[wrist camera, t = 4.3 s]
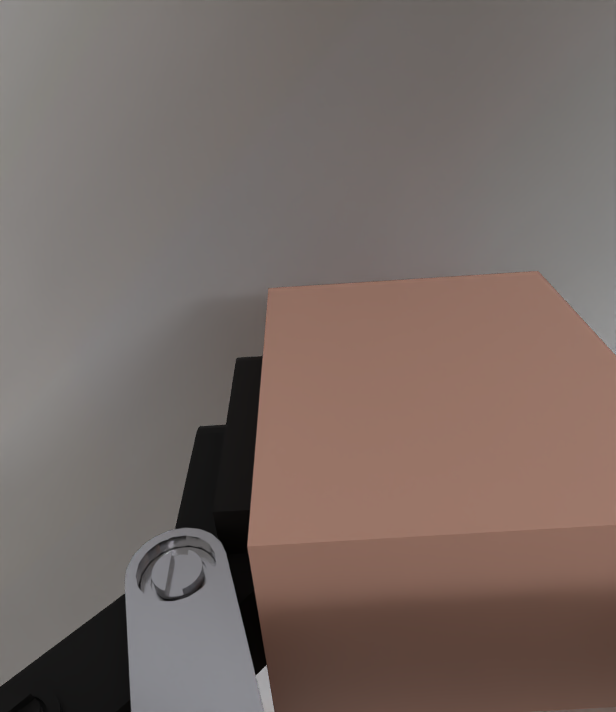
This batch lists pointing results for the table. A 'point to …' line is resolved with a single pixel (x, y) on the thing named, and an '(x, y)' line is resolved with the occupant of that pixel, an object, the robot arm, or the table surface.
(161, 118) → the table surface
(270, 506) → the terracotta block
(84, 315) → the table surface
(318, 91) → the table surface
